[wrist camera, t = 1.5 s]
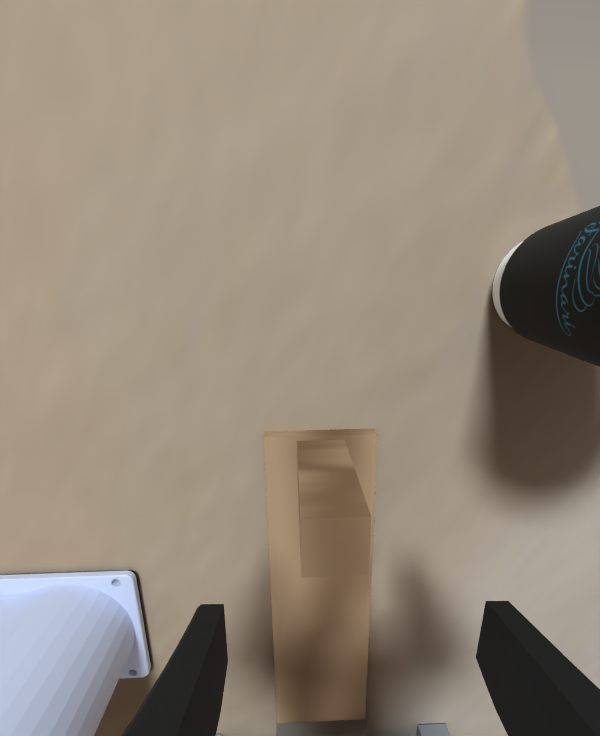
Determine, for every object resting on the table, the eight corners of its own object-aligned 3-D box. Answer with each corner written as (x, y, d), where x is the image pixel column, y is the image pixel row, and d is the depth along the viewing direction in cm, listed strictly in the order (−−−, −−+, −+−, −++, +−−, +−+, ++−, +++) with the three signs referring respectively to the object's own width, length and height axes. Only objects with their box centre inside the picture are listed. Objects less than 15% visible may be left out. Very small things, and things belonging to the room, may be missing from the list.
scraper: (278, 718, 23) (272, 890, 17) (264, 430, 18) (249, 514, 11) (362, 715, 23) (390, 883, 17) (373, 428, 18) (421, 509, 11)
